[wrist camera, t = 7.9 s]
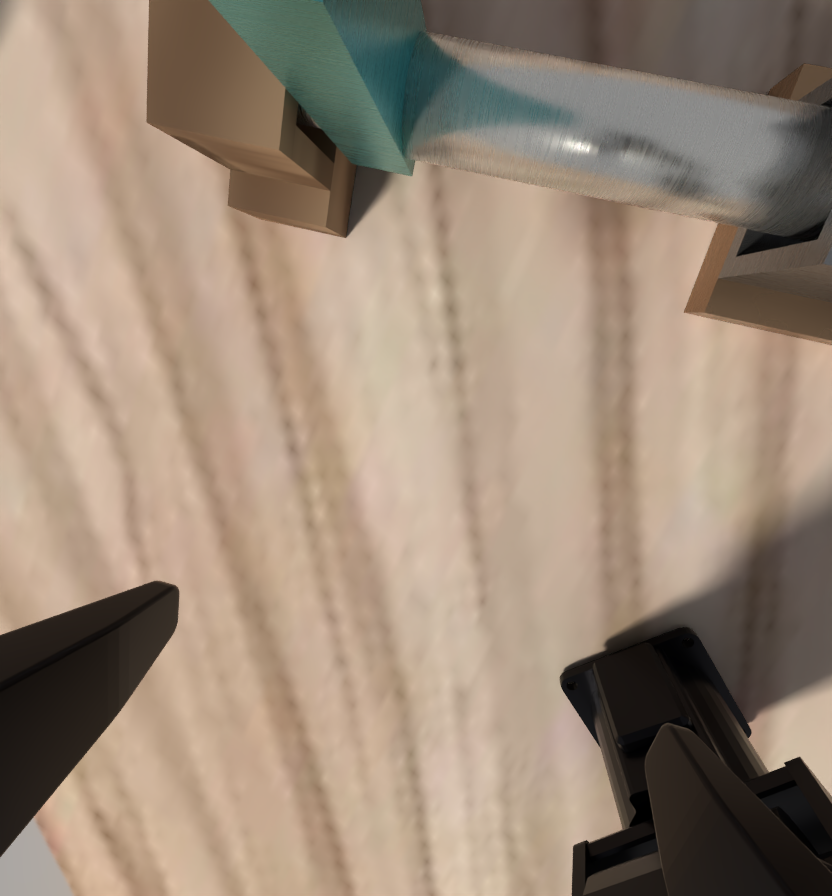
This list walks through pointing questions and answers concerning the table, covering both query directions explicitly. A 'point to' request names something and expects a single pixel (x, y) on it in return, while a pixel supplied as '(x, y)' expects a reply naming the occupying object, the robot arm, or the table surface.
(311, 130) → the socket
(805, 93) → the sleeve
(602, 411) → the table surface
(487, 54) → the teal block on rod
